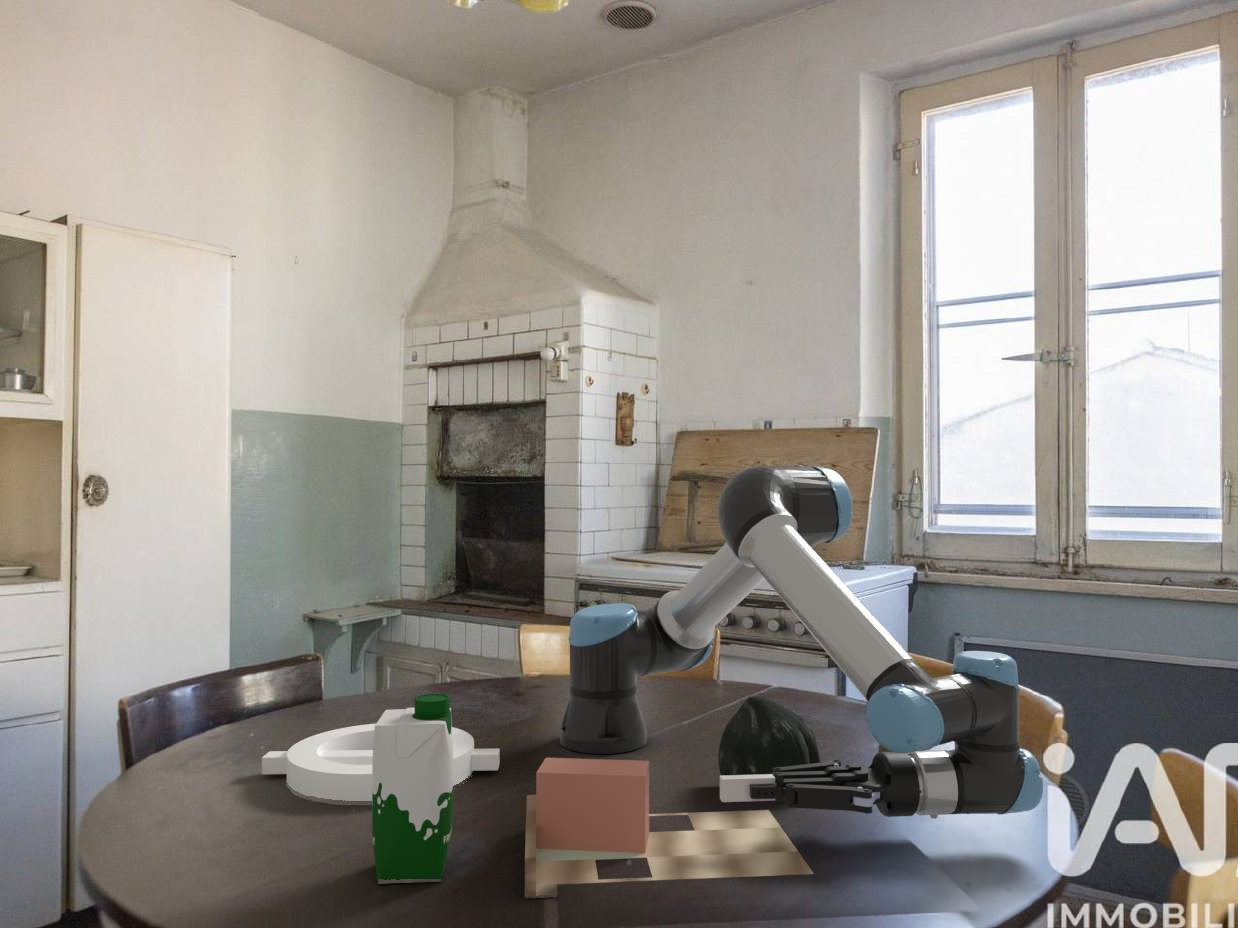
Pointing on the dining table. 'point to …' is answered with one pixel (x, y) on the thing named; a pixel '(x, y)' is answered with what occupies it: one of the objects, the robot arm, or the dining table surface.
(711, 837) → the board
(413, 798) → the milk carton
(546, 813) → the brick
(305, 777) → the ring with crossbar
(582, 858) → the pad
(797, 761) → the squash
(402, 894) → the dining table surface
